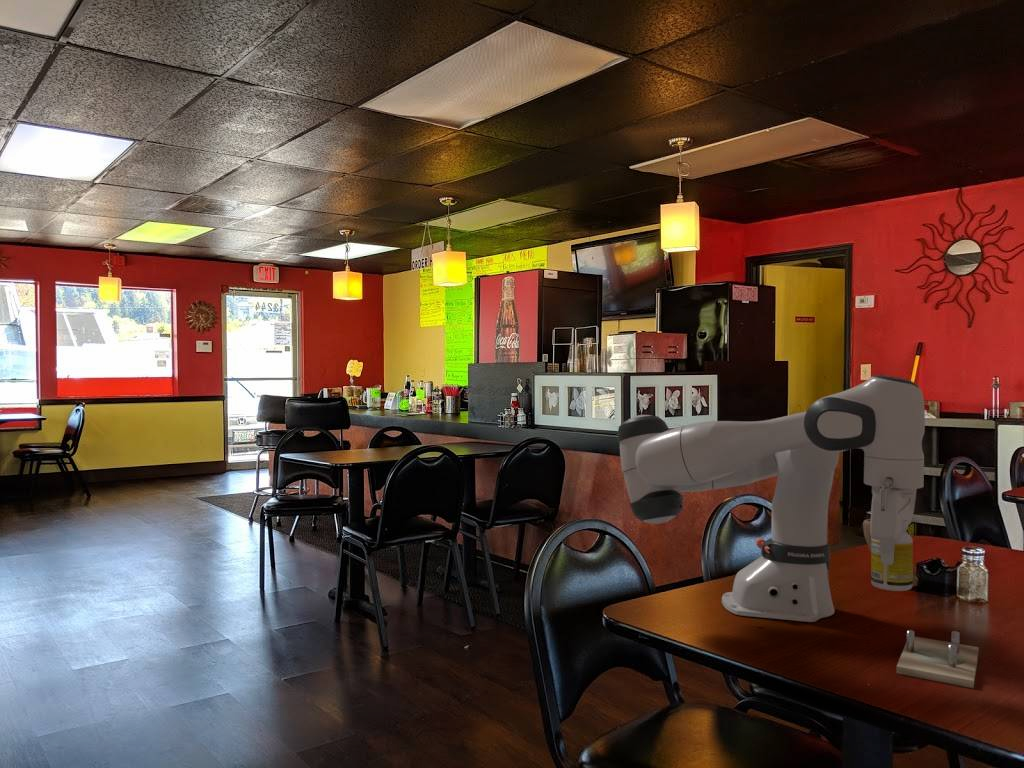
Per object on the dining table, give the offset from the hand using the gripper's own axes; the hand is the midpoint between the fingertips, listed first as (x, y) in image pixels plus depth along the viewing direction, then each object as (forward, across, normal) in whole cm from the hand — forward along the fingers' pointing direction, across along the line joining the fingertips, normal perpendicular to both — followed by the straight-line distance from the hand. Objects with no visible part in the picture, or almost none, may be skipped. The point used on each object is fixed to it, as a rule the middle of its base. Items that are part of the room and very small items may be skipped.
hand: (891, 559), depth 129 cm
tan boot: (+19, +64, +9) cm, 68 cm away
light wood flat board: (+19, +10, -6) cm, 22 cm away
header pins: (+18, +10, -5) cm, 21 cm away
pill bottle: (+5, 0, 0) cm, 5 cm away
